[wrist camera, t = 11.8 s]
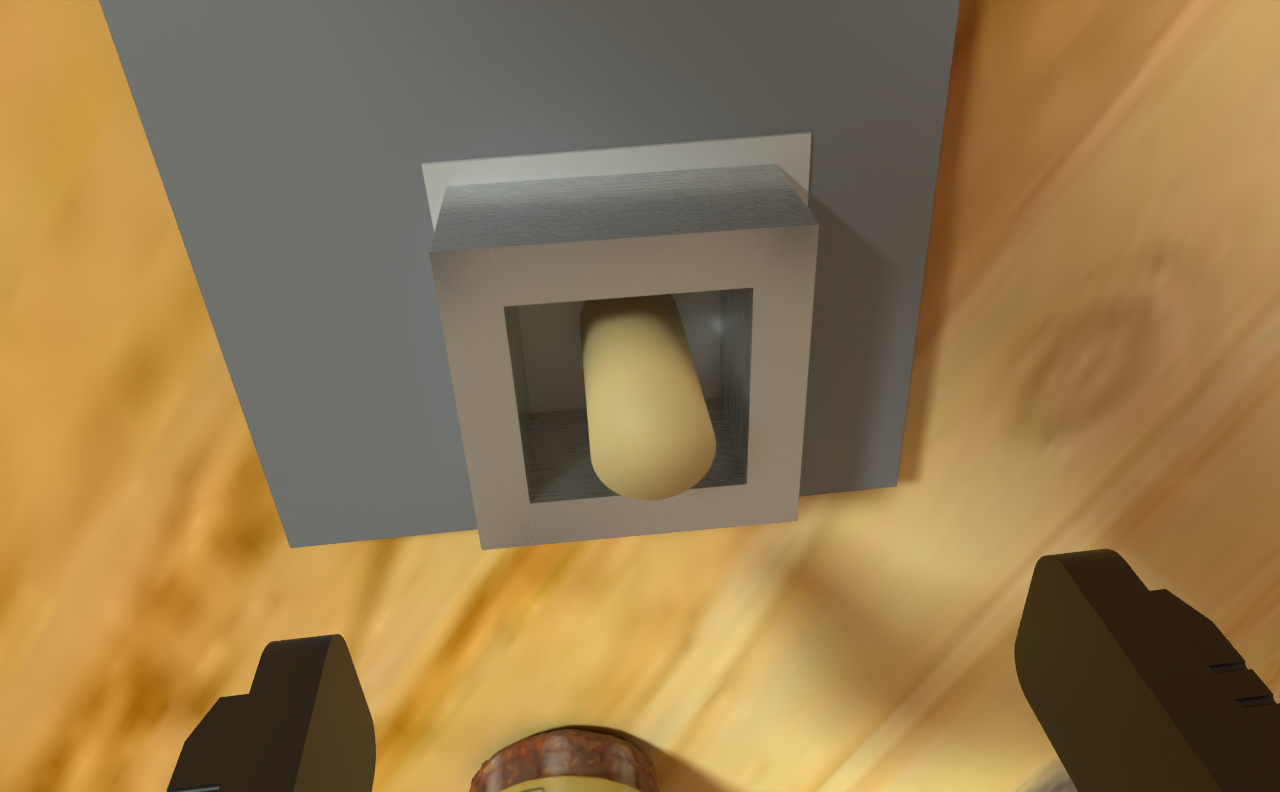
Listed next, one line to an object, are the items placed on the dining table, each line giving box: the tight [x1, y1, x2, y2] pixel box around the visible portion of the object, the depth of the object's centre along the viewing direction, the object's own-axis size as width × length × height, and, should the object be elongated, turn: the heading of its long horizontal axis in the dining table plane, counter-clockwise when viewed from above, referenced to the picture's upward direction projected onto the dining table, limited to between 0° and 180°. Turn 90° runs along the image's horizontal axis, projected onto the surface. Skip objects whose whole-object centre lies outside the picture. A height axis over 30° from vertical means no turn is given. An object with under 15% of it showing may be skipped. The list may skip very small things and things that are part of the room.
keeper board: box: [99, 0, 960, 548], centre depth 15 cm, size 16×14×6 cm
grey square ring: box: [429, 164, 819, 550], centre depth 17 cm, size 6×6×3 cm
